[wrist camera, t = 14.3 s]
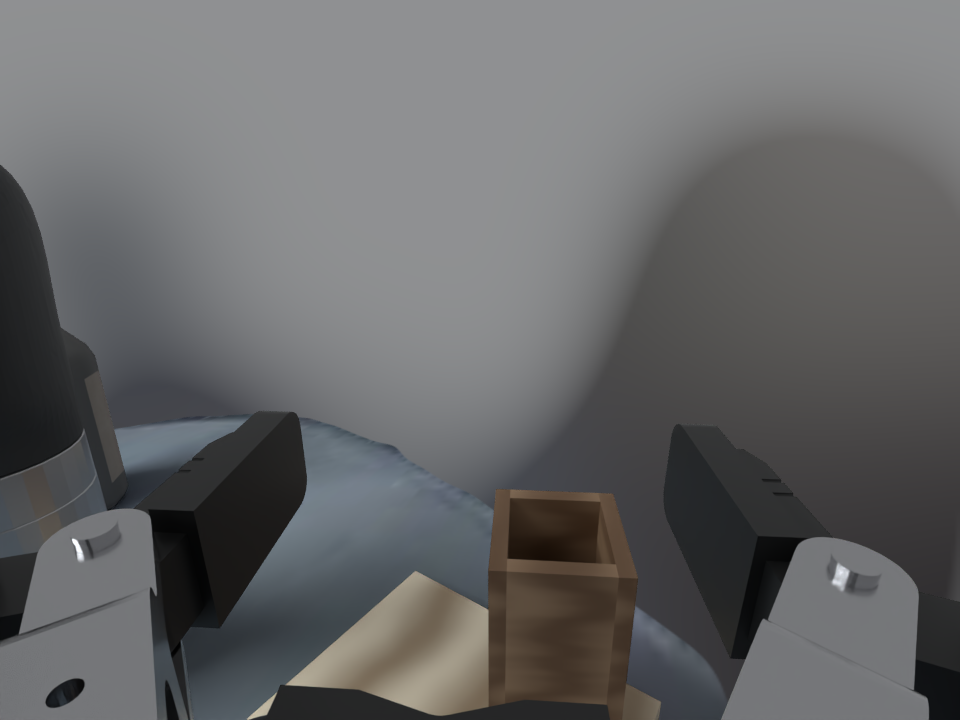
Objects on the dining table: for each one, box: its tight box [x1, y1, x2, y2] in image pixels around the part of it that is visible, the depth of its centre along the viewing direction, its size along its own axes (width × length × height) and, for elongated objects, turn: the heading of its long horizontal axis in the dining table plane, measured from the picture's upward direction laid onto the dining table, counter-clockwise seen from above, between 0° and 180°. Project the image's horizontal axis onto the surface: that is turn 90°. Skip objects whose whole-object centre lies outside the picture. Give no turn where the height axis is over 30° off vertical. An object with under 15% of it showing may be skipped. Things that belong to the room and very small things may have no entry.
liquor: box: [61, 328, 128, 510], centre depth 49 cm, size 9×9×30 cm
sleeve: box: [488, 489, 638, 720], centre depth 27 cm, size 6×6×14 cm
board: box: [247, 571, 661, 720], centre depth 30 cm, size 20×15×4 cm
